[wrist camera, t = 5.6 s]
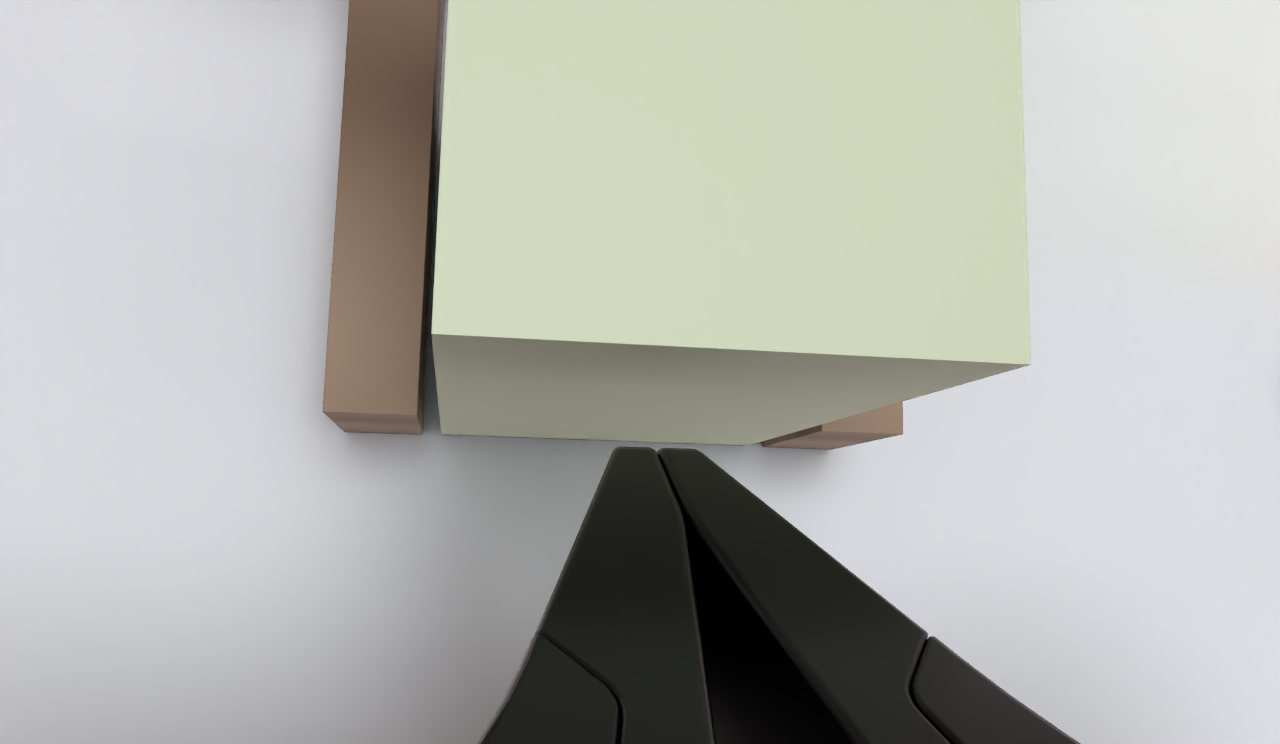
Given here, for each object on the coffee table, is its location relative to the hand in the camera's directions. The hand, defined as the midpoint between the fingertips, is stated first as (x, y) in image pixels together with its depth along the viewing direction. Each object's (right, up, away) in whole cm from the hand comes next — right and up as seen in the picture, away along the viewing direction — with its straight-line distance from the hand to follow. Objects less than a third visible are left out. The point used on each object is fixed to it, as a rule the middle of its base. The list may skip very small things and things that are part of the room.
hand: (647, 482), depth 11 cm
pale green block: (-1, +2, +7) cm, 8 cm away
